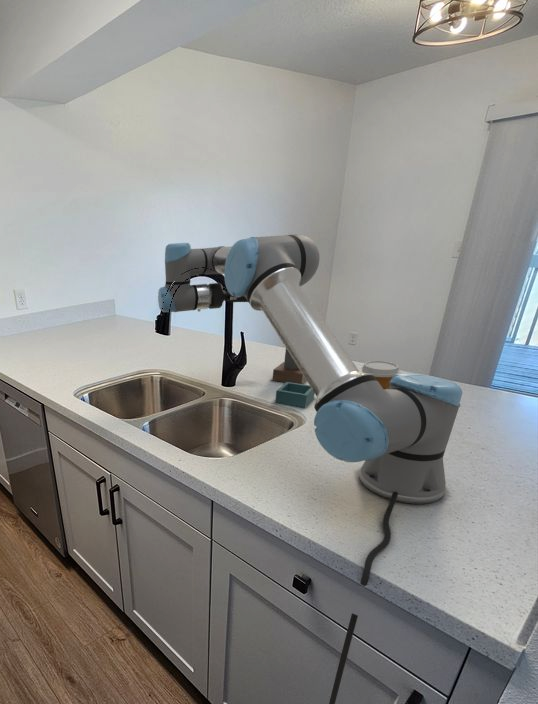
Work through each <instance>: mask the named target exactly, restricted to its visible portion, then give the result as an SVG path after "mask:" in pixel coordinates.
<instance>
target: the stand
mask: <svg viewBox="0 0 538 704" xmlns="http://www.w3.org/2000/svg"><path fill="white" fill-rule="evenodd" d="M271 381H273V382H277V383H284V384H285V383H286V382H291V383H298V384H304V383H306V382H307V380H306V379H305V377H304V375H303V374H302V372H301V371H300V369H299V370H289V369H285V368H284V361H283V362H281V363H280V364H279V365H277V366H276V367H275V368H273V369H272V380H271Z"/></svg>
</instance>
